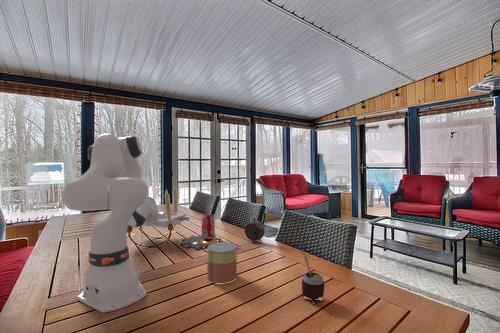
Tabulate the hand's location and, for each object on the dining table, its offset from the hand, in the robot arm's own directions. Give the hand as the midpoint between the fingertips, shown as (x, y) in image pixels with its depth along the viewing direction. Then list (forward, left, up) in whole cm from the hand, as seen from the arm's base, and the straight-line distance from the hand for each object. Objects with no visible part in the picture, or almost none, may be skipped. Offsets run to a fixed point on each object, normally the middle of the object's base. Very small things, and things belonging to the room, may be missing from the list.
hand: (184, 220), depth 138 cm
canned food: (-46, +14, -12) cm, 50 cm away
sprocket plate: (-7, -6, -12) cm, 15 cm away
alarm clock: (-28, -26, -12) cm, 40 cm away
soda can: (-9, -9, -10) cm, 16 cm away
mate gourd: (-79, +5, -12) cm, 80 cm away
